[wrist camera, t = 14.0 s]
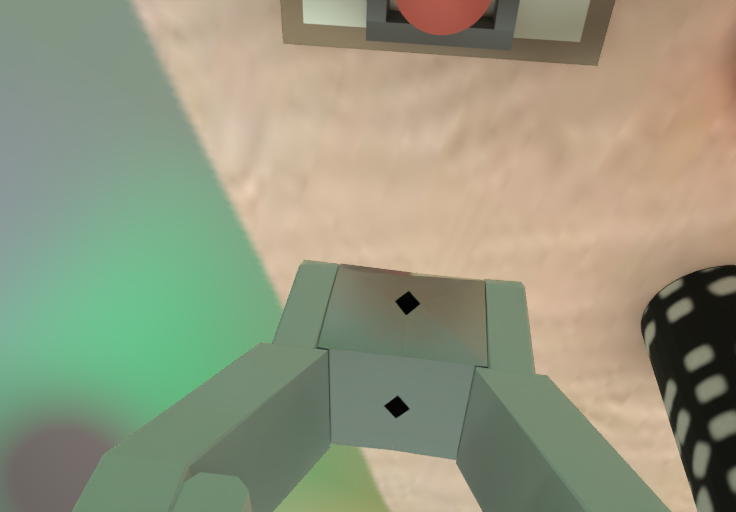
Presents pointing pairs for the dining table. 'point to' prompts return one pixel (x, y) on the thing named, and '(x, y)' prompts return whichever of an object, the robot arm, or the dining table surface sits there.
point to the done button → (442, 14)
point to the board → (483, 39)
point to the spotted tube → (699, 378)
